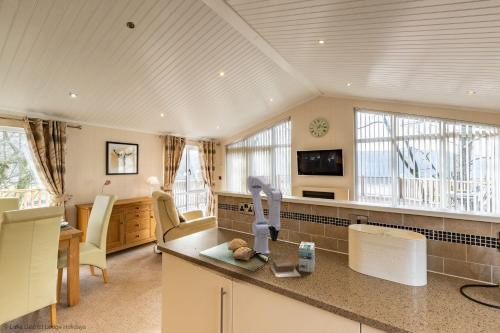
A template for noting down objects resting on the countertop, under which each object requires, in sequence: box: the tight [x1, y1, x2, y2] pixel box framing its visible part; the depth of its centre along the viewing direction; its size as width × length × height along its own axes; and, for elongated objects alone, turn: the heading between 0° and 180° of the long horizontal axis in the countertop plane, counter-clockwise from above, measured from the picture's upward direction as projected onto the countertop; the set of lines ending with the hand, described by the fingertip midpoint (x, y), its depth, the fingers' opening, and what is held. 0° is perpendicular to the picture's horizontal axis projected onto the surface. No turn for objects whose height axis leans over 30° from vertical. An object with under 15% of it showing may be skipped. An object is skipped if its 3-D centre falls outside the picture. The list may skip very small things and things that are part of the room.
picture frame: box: [272, 259, 295, 272], centre depth 113 cm, size 3×8×7 cm
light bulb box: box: [298, 241, 316, 273], centre depth 115 cm, size 11×7×11 cm, turn 161°
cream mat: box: [270, 266, 301, 278], centre depth 110 cm, size 10×11×1 cm
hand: (274, 241), depth 122 cm, fingers closed
